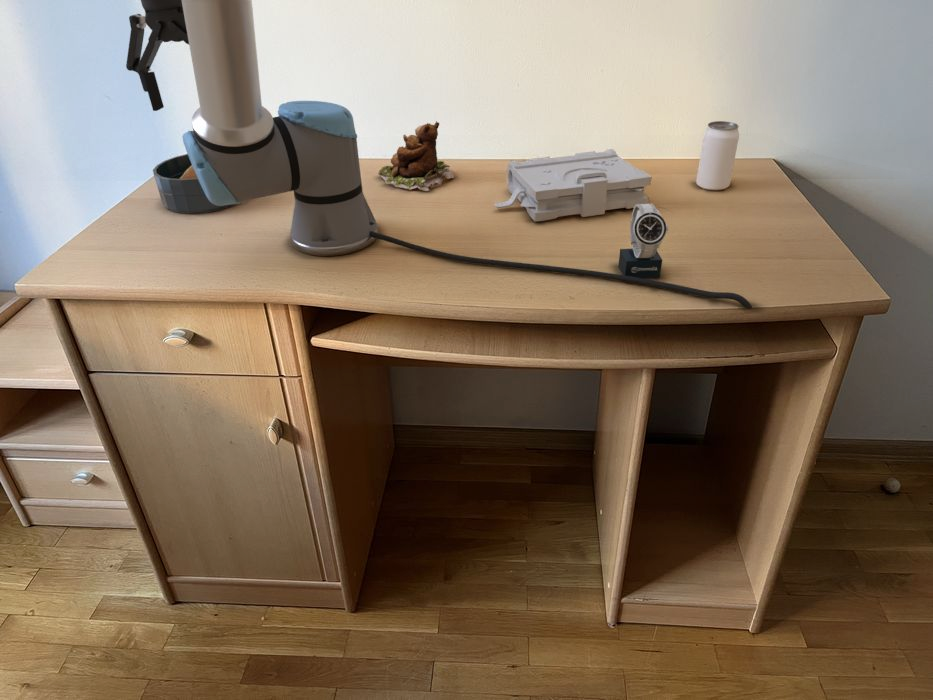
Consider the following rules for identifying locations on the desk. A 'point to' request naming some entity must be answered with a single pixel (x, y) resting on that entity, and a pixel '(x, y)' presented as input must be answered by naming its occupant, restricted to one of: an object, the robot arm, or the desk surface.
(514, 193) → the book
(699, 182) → the can
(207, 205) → the dark blue bowl
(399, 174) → the bear figurine
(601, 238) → the desk surface
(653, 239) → the watch
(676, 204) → the desk surface
